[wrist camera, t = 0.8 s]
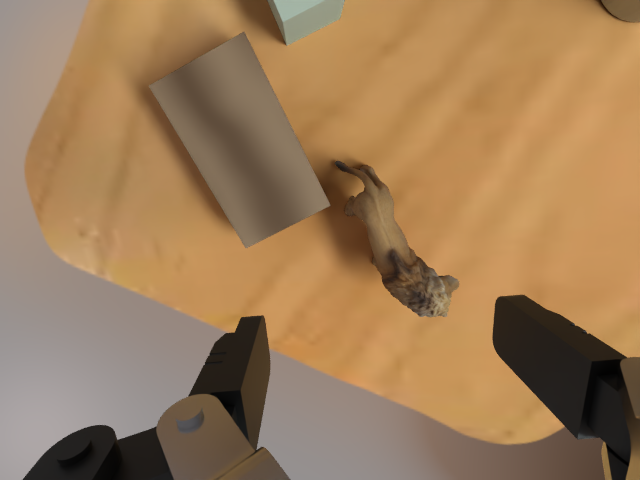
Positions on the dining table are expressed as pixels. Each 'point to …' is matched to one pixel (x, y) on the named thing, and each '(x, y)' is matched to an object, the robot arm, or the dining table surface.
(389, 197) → the lion figurine
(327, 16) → the sage cube
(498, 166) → the dining table surface
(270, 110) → the taupe rectangular block
